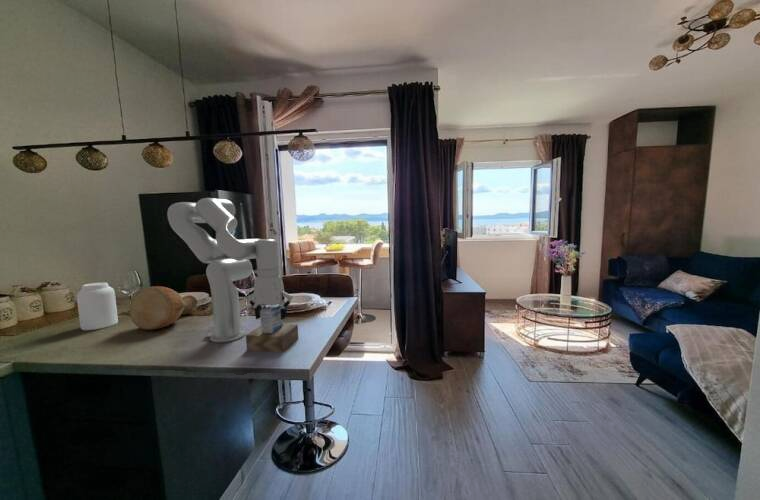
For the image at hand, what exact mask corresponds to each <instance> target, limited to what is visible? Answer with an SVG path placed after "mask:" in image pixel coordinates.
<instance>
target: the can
mask: <svg viewBox="0 0 760 500" xmlns="http://www.w3.org/2000/svg"><path fill="white" fill-rule="evenodd" d="M116 300H117V298H116V291H115V289H114V288H113V287H112V286H110V285H109V283H108V282H105V281H103V282H91V283H87V284H83V285H81V290H79V291H78V292H77V294H76V302H77V309H78V311H77V312H78V317H79V318H78V319H79V326H80V329H81V330H82V331H93V330H100V329H101V330H102V329H105V328H109V327H112V326H114V325H116V324H118V322H119V317H118V310H117V309H118V308H117V302H116Z"/></svg>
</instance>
